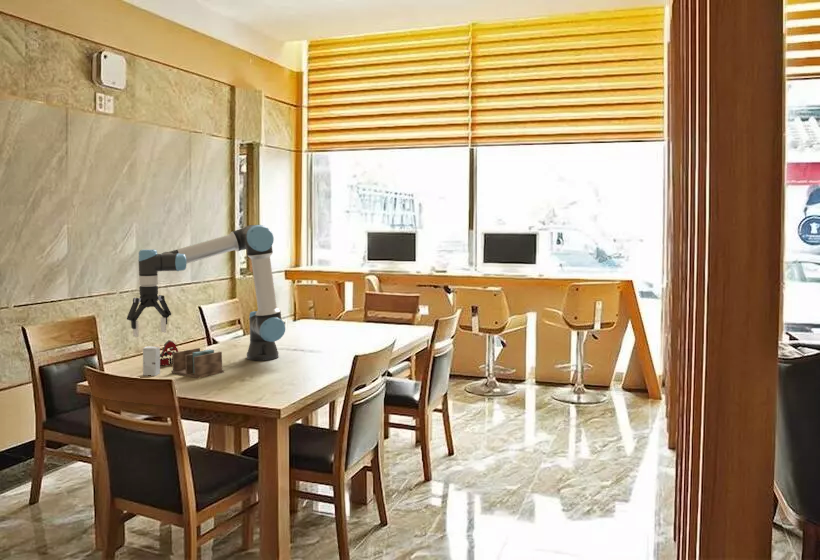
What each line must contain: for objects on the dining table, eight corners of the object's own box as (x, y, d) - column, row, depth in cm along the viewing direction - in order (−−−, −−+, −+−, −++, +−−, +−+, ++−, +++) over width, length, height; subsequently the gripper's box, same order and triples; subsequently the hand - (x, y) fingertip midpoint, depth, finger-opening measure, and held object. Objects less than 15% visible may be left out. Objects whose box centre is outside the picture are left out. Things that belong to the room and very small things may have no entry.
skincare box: (142, 375, 307) (141, 348, 306) (148, 373, 312) (147, 346, 311) (156, 376, 306) (154, 348, 305) (161, 373, 311) (160, 346, 310)
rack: (197, 367, 324) (197, 345, 323) (223, 372, 313) (223, 349, 312) (171, 372, 312) (170, 350, 311) (197, 378, 302) (196, 355, 301)
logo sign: (150, 367, 325) (149, 343, 324) (149, 365, 328) (148, 341, 327) (191, 363, 333) (190, 339, 332) (189, 361, 336) (189, 338, 335)
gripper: (168, 282, 318) (169, 329, 319) (117, 287, 297) (118, 337, 299) (178, 283, 313) (179, 331, 315) (127, 288, 293) (128, 339, 295)
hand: (150, 334), depth 307 cm, fingers open, 13 cm apart
